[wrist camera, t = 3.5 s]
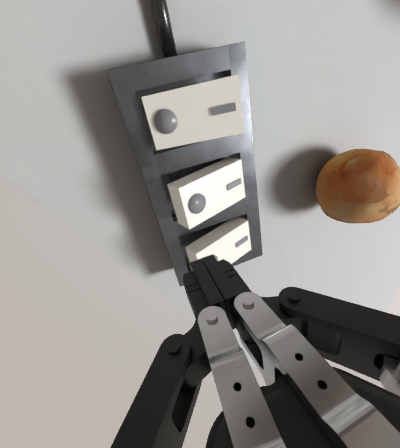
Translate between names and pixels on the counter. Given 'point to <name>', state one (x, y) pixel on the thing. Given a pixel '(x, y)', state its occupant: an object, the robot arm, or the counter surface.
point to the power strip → (190, 153)
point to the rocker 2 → (223, 242)
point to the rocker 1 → (195, 112)
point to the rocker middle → (207, 191)
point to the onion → (359, 186)
